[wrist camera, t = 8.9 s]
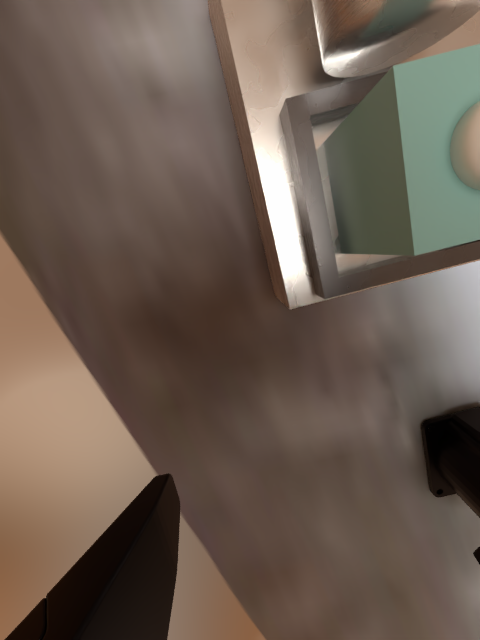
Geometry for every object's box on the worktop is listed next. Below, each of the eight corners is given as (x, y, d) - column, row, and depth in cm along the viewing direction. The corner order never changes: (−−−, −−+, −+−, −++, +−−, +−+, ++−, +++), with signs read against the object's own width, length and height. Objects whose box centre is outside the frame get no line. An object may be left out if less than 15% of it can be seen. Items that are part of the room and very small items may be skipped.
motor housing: (438, 252, 20) (660, 255, 10) (274, 295, 20) (325, 341, 10) (405, -47, 17) (699, -531, 6) (208, 7, 17) (179, -380, 7)
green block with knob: (442, 228, 15) (621, 210, 8) (341, 253, 15) (436, 256, 8) (432, 115, 14) (629, -14, 7) (323, 142, 14) (416, 40, 7)
